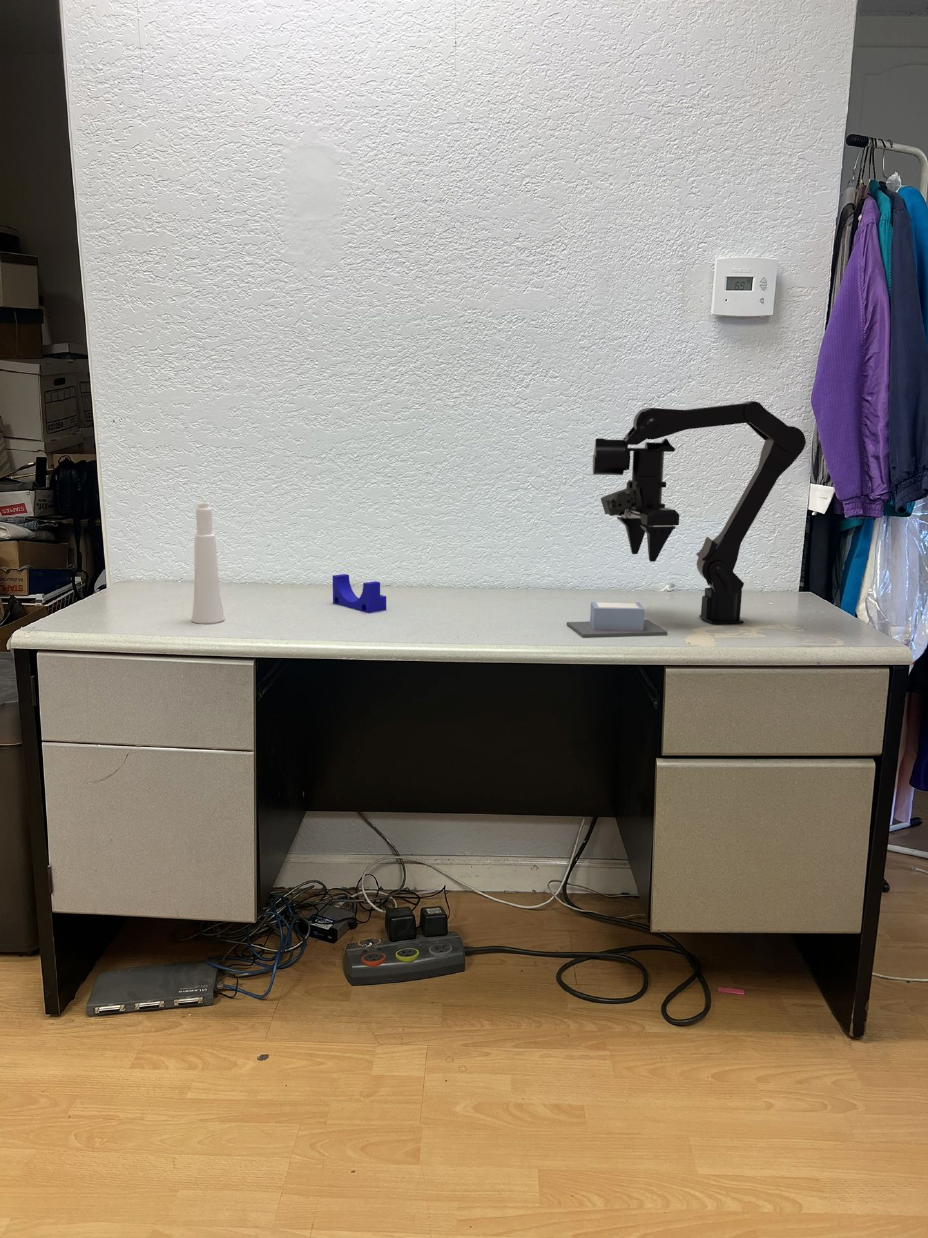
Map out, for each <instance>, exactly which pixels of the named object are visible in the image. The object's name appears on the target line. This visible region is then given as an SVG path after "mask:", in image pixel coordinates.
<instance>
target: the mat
mask: <svg viewBox="0 0 928 1238" xmlns="http://www.w3.org/2000/svg"><path fill="white" fill-rule="evenodd" d="M566 626H567V627H568V628H570V629H571V630H572V631H574V632H575V633H576V634H577V635H579V636H580V637H581V638H605V637H606V638H610V637H612V638H613V637H614V636H615V637H644V636H645V637H647V636H649V637H650V636H668V633H669V632H668V630H665V629H664V628H663V627H660V626H659V625H657V624H655V623H654V622H652V621H650V620H649V619H644V628H643V631H624V630H593V628H592V626H591V624H590V620H589V621H587V620H586V621H566ZM615 637H614V638H615Z"/></svg>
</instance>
